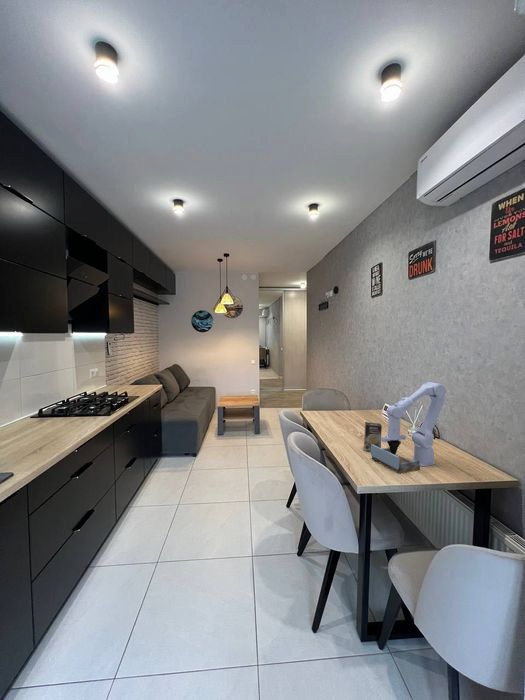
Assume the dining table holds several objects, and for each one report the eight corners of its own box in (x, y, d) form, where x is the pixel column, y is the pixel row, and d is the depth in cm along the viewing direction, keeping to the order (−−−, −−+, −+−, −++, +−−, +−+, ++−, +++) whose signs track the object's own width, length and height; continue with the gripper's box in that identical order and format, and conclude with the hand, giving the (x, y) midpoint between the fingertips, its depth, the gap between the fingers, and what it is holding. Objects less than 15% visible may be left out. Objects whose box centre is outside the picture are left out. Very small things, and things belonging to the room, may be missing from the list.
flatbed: (390, 455, 170) (390, 447, 170) (419, 469, 152) (420, 460, 152) (372, 458, 166) (372, 450, 166) (400, 473, 147) (400, 464, 147)
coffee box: (364, 451, 175) (365, 424, 175) (363, 447, 181) (364, 421, 181) (381, 453, 173) (381, 426, 172) (379, 449, 179) (380, 423, 178)
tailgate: (372, 455, 165) (372, 444, 165) (399, 469, 147) (399, 457, 147) (370, 455, 165) (370, 444, 164) (397, 469, 147) (397, 457, 147)
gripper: (398, 425, 164) (397, 449, 164) (377, 427, 159) (377, 452, 159) (409, 429, 157) (408, 454, 158) (387, 431, 152) (386, 457, 153)
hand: (393, 453), depth 158 cm, fingers closed
